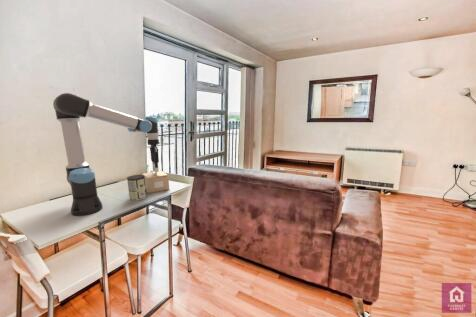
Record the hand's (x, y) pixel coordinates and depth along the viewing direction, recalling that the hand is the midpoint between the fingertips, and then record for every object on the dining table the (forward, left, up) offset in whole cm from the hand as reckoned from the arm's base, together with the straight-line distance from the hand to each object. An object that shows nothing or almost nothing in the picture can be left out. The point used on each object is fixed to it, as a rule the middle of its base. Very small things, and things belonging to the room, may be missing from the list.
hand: (155, 171), depth 173 cm
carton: (-1, 0, -13) cm, 13 cm away
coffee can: (-16, -14, -13) cm, 25 cm away
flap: (+2, 0, -3) cm, 3 cm away
